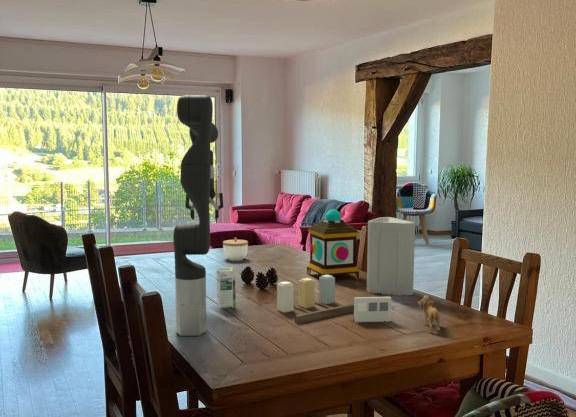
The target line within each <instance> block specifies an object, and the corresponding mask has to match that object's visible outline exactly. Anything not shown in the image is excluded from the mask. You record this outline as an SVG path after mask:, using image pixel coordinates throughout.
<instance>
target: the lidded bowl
mask: <svg viewBox="0 0 576 417" xmlns="http://www.w3.org/2000/svg"><path fill="white" fill-rule="evenodd" d="M222 247H223V248H222V249H223V253H224V256H225V257H226V258H227V259H228V261H233V262H235V261H243V259H244V258H245V257H246V255H247V254H248V248H249V241H248V240H245V239H238V238H237V237H234V239H227V240H223V241H222Z"/></svg>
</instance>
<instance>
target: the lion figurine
mask: <svg viewBox="0 0 576 417" xmlns="http://www.w3.org/2000/svg"><path fill="white" fill-rule="evenodd" d="M417 304H418V305H419V308H422V310H423V312H424V319H425V322H424V323H423V325H424V326H429V331H428V332H429V334H433V333H434V328H435V330H436V333H437V334H441V328H440V321H441V320H440V312H439V310H438V308H437V305H436V302H435V300H434V299H433V298H432V297H431V296H430V295H423V297H422V298H421V300H419V301H417ZM432 324H433V325H434V327H433V325H432Z"/></svg>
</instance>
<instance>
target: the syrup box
mask: <svg viewBox="0 0 576 417" xmlns="http://www.w3.org/2000/svg"><path fill="white" fill-rule="evenodd" d="M236 298H237V296H236V270H235V268H234V267H233V266H231V267H220V268H219V267H217V268H216V300H217V302H216V304H217V306H218V308H219V309H220V310H222V309H235V308H237V307H236V306H237V305H236Z"/></svg>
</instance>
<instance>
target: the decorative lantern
mask: <svg viewBox="0 0 576 417" xmlns="http://www.w3.org/2000/svg"><path fill="white" fill-rule="evenodd" d="M324 216H325V217H324V218H323V219H322V220H321V221H319V222H318V223H317V224H312V226H309V228H308V229H307V231H308V233H309V238H310V239H309V244H310V245H309V247H310V248H309V252H310V253H309V258H310V259H309V263H308V264H307V266H306V273H307V274H308V275H311V273H312V272H314V273H316V274H318V275H320V277H321V276H322V275H331V276H340V275H349V274H354V278H355V280H358V279H359V277H360V271H359V268H358V267H357V266H358V265H357V238H358V236H359V233H360V231H358V230H357V229H356V228H355V227H354V226H351V225H350V224H348V223H347V222H345V220H343V219H342V215H341V213H340V211H338V210H337V209H336V208H335V209H334V208H332V209H329V210H328V211H327V212H326V213H325V215H324Z"/></svg>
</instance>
